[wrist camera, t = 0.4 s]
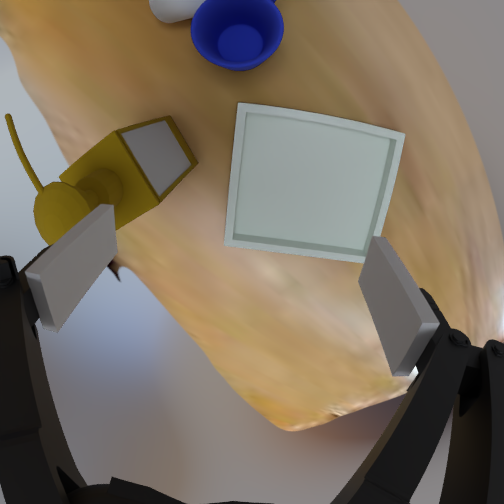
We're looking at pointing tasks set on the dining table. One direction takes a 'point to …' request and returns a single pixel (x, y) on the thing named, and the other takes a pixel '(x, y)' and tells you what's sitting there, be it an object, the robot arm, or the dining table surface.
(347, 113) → the dining table surface
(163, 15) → the white cylinder
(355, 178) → the tray
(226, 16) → the mug
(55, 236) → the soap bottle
